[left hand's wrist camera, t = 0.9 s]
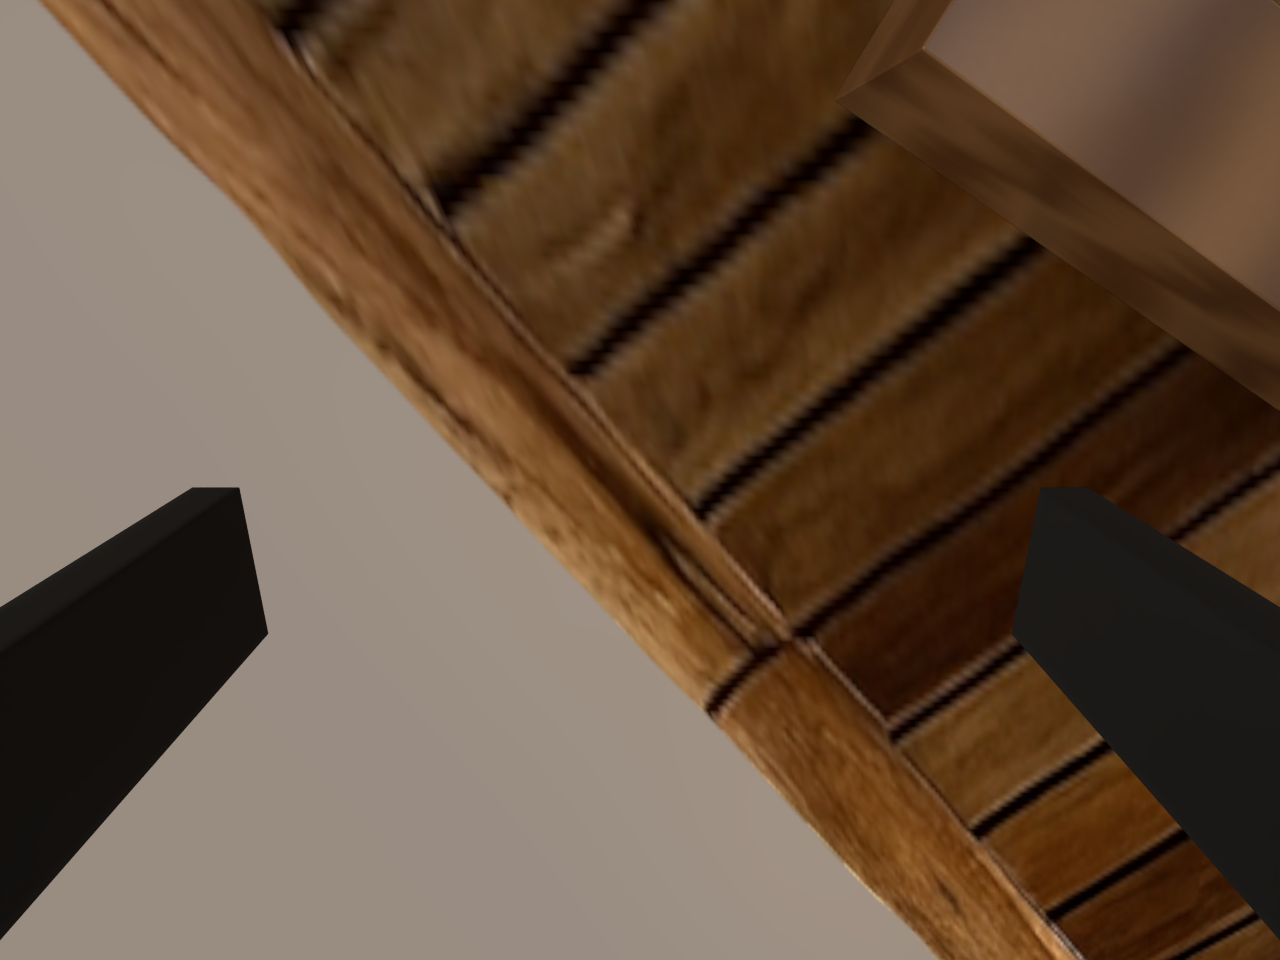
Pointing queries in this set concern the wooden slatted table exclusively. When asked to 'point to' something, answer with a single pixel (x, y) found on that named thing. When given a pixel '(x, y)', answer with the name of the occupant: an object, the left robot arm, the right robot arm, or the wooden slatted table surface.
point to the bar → (1108, 146)
